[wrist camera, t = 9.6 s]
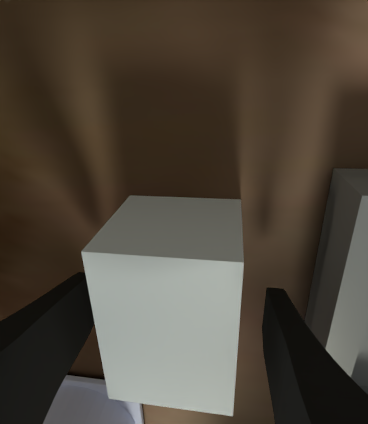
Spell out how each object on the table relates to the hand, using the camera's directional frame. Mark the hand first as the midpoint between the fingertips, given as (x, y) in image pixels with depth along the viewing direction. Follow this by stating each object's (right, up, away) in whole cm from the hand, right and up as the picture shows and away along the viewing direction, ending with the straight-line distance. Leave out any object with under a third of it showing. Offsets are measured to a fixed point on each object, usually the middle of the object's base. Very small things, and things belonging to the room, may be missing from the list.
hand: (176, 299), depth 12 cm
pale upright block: (0, +1, +3) cm, 3 cm away
